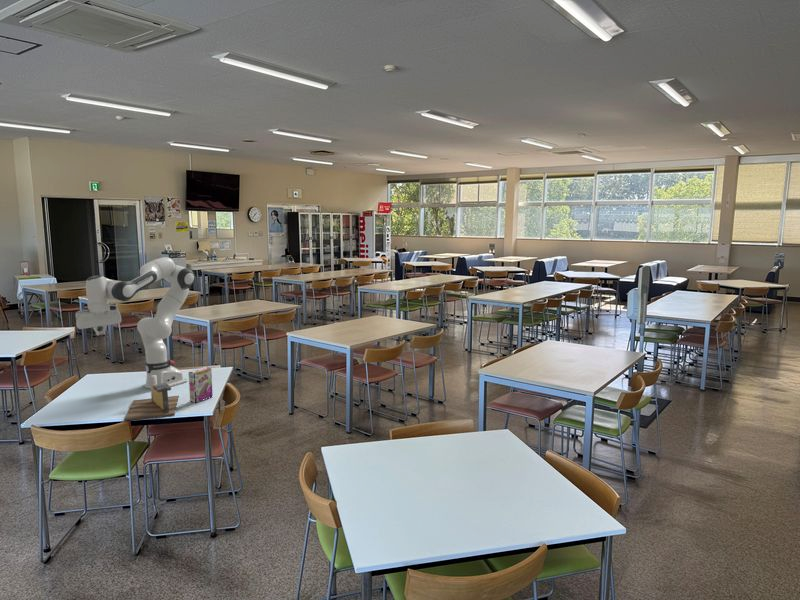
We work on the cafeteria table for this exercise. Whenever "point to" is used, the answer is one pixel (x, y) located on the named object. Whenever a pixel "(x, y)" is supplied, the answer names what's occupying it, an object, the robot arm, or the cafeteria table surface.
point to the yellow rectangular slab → (155, 392)
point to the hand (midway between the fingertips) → (100, 334)
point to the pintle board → (153, 405)
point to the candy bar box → (200, 384)
